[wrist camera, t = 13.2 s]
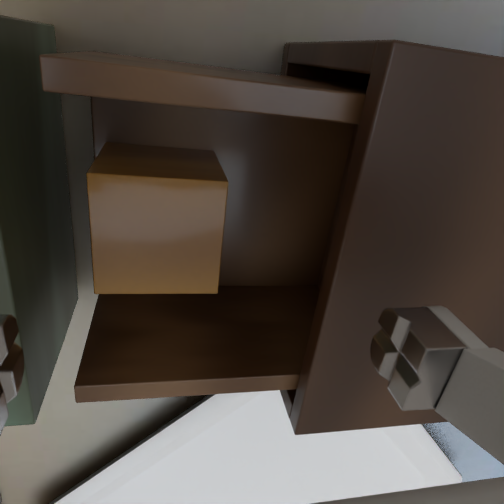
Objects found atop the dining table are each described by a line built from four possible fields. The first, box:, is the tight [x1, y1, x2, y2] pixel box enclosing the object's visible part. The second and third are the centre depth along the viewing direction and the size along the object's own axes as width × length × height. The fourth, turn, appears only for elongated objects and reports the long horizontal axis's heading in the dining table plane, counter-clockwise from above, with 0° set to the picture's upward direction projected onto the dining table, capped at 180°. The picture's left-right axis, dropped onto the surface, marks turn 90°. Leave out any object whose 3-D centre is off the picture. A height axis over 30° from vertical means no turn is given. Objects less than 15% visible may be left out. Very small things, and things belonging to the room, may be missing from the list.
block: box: [86, 142, 229, 294], centre depth 16 cm, size 4×4×4 cm
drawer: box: [0, 15, 368, 426], centre depth 15 cm, size 19×12×8 cm, turn 83°
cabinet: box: [280, 40, 504, 435], centre depth 18 cm, size 16×14×10 cm
